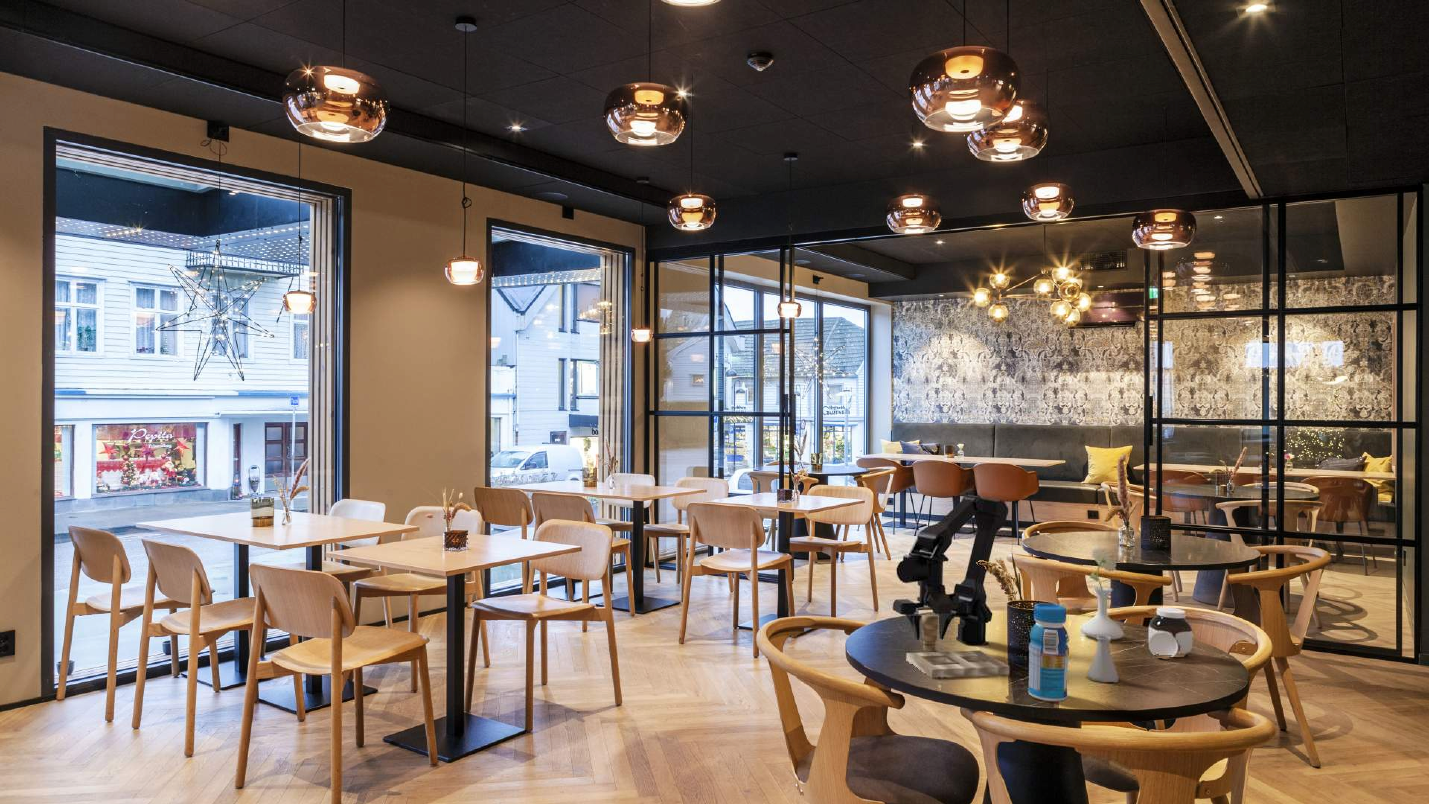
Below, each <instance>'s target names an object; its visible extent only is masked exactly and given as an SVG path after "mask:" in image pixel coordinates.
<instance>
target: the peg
mask: <svg viewBox="0 0 1429 804" xmlns="http://www.w3.org/2000/svg"><path fill="white" fill-rule="evenodd" d="M921 618H922V619H921V629H922V643H923V646H922V648H923V653H925V652H936V642H937V639H938V638H937V637H938V630H939V615H936V614H935V615H934V614H922V615H921Z"/></svg>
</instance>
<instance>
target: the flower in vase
mask: <svg viewBox="0 0 1429 804" xmlns="http://www.w3.org/2000/svg"><path fill="white" fill-rule="evenodd" d="M1091 550H1092V552H1091V553H1092V556H1091V557H1093V558H1094V561H1095V562H1096V563H1097V565H1098V568H1097V571H1096V574H1095V573H1094V572H1091V574H1090V576H1089V578H1090V579H1092V580H1094V581H1096V582H1098V583H1099V584H1098V585H1099V586H1093V587H1092V588H1093V590H1094V592H1095V594H1096V596H1097V597H1096V598H1097V612H1096V614H1095V615H1094V617H1092V618H1090V619H1089V620H1087V621H1085V622H1084V623H1083V624H1081V626H1080V628H1079V630H1080V632H1081V634H1083V635H1085V636H1087V637H1089V638H1093V639H1097V636H1108V637H1110V638H1111V640H1118V639H1120V638H1123V637H1124V635H1125V633H1124V630H1122V628H1121V626H1119V625H1118V624H1117V623H1116V622H1114V620H1113V619H1111V618H1110V616H1109V614H1108V599H1109V596H1110V594H1111V593H1112V591H1113V590H1114V589H1113V588H1111V587H1107V586H1106V587H1105V586H1102V583H1105V582H1106V581H1109V580H1111V578H1112V577H1109V578H1108V579H1105V580H1102V581H1101V580H1100V579H1099V570H1100V568H1102V569H1104V570H1105V571H1108V572H1113V571H1116V570H1117V568H1116V567H1117V563H1116V560H1115V559H1114V555H1113V554H1111V553H1110V552H1109V551H1107V549H1106V548H1102V547H1101V546H1097V547H1093V549H1091Z"/></svg>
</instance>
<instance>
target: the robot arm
mask: <svg viewBox="0 0 1429 804" xmlns="http://www.w3.org/2000/svg"><path fill="white" fill-rule="evenodd" d="M1008 515H1009V507H1008V505H1007V504H1006V502H1005V501H1004V500H999V499H992V498H985V497H983V498H982V497H981V496H977V495H969V494H967V495H964V496H963V497H962V499H961V501H960V502H959V503H957V505H956V506H955V507H954V508H953V509H951V510H950V511H949V512H948V513H947V514H946V515H945V516H944V517H943V518H942V519H940V521H939V522H937V523H935V524H932V525H929V526H926V527H925V528H923V529H922V530H920V531H919V533H918V534H917V536H916V539H915V541H914V543H913V545H912V547H911V549H910V551H909V553H908V555H907V554H906V555H903V556H902V560H901V561H899V562H898V564H897V566H896V576H897V578H898V579H899V581H900V582H902V583H904V584H910V583H916V582H917V586H919V596H917V598H916V599H917V601H918V602H914V601H912V600H910V599H908V598H907V599H906V598H905V599H903V598H902V599H900V598H899V599H894V601H893V602H892V610H893V611H894V612H896V613H898V614H900V615H902V616H903V615H905V616H906V618H907V619H908V622H909V623H910V626H911V628H912V629H911V630H912V632H913V634H914V637H915V640H916V641H919V640H920V636H921V634H920V633H921V631H920V629H921V628H920V627H921V626H920V622H921V621H920V620H921V618H922V615H921V614H919V611H932V612H933V613H934V614H935V615H938V633H939V634H938V635H939V639H940V640H944V638H945V636H946V633H947V631H948V629H949V625H950V624H951V622H952V621H953V619H954V618H959V623H957V636H956V638H955V639H956V641H959V642H961V643H963V644H964V645H966V646H971V645H972V646H973V645H974V646H975V645H977V646H978V645H979V646H980V645H989V642H988V641H987V639H986V633H987V624H988V623H989V622H991V621H992V618H993V612H992V611H991V608H989V606H988V605H987V594H986V593H987V592H986V589H985V586H984V582H985V579H986V574H987V571H988V568H987V569H985V567H984V566H982V565H979V563H980V562H978V561H979V560H984V561H987V562H989V563H990V559H991V554H992V550H993V545H994V541H995V538H996V534H997V533H998V532H999V531H1000V530H1001V529H1002V528H1003V527H1004V525H1005V523H1006V520H1007V518H1008ZM972 518H974V519H973V520H974V521H975V523H974V524H975V526H976V533H975V536H974V540H973V544H972V549H971V554H970V557H969V560H968V564H967V565H968V566H967V568H966V571H965V572H966V573H965V578H964V579H963V581H961V583H956V584H955V585H954V589H953V593H946V585H945V584H943V579H944V562H949V560H950V559H949V558H948V556H947V555H945V553H946V552H947V550H948V549H949V548H950V546H951V545H952V543H953V537H954V536H955V534H956V533H958V532H959V531H960V530H961V529H962V527H964V526H965V525H966V524H967V523H968V522H969V521H970V520H971V519H972ZM976 562H978V565H979V566H978V565H977V564H976ZM981 563H985V562H981ZM989 563H987V564H988V565H989Z"/></svg>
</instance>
